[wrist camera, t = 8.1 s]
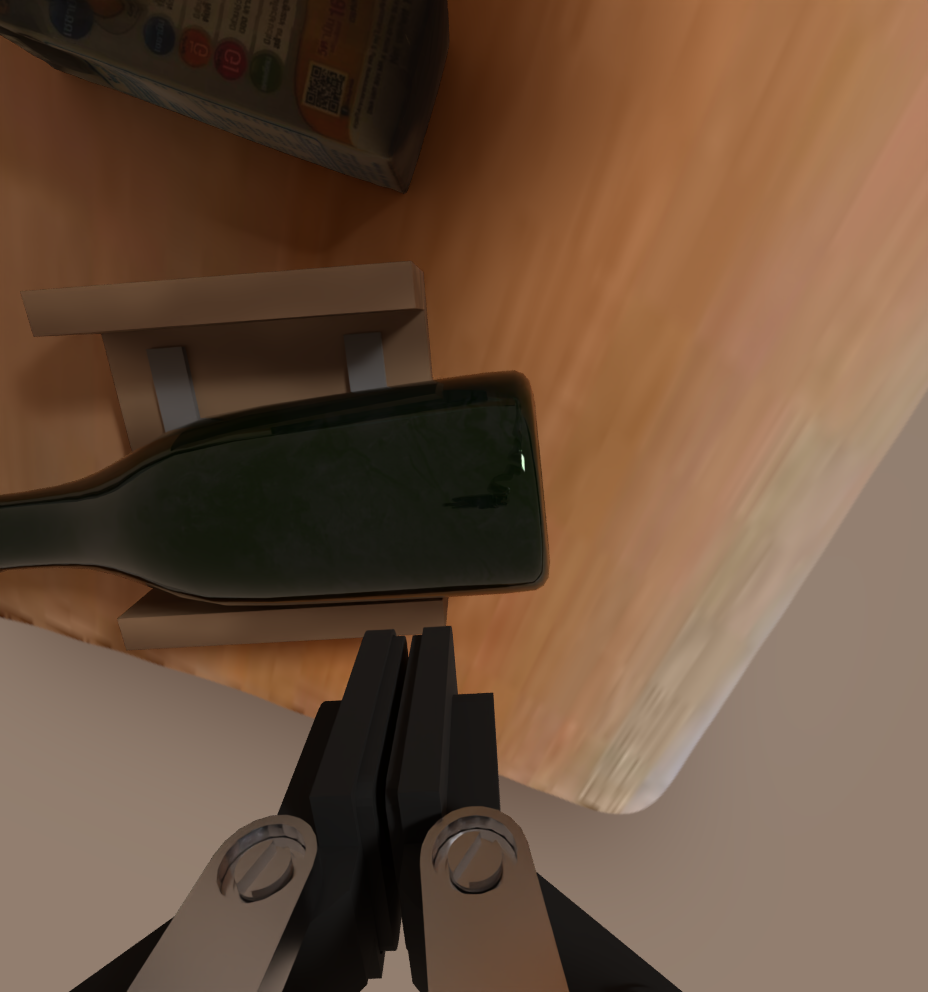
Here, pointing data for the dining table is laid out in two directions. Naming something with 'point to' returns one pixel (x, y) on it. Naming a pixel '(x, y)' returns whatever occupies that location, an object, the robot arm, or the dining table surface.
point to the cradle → (250, 398)
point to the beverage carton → (262, 68)
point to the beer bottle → (313, 501)
